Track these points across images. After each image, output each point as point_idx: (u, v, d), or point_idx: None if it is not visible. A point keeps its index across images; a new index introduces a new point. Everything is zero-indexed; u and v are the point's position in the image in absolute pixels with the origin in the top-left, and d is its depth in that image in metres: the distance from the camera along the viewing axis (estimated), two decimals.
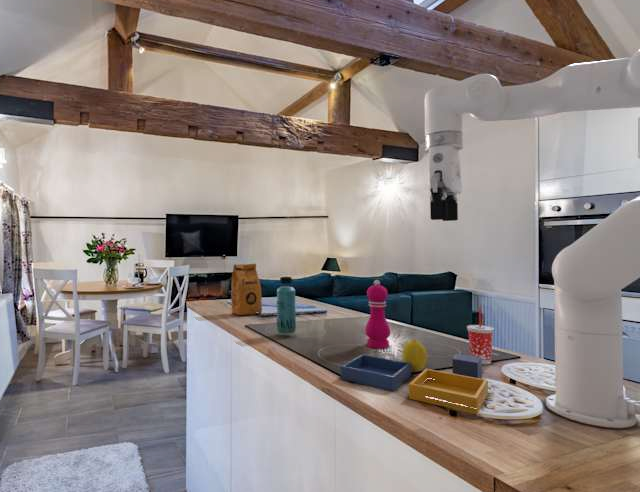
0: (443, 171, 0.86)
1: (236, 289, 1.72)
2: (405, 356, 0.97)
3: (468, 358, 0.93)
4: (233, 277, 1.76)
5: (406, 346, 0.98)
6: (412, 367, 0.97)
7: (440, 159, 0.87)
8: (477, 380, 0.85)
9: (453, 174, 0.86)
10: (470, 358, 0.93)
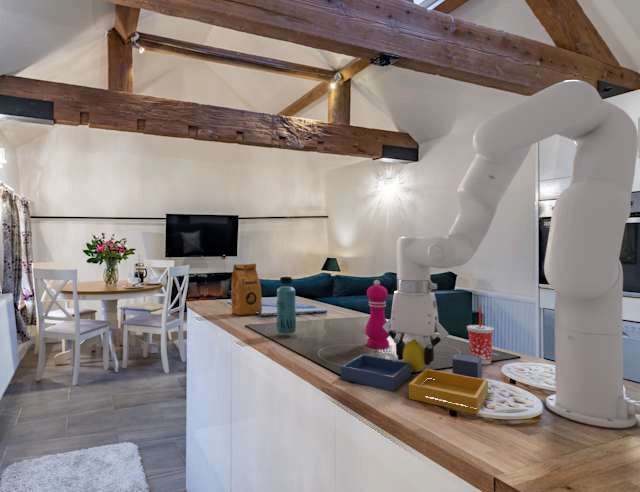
0: (437, 317, 0.96)
1: (236, 289, 1.72)
2: (405, 356, 0.97)
3: (468, 358, 0.93)
4: (233, 277, 1.76)
5: (406, 346, 0.98)
6: (412, 367, 0.97)
7: None
8: (477, 380, 0.85)
9: None
10: (470, 358, 0.93)
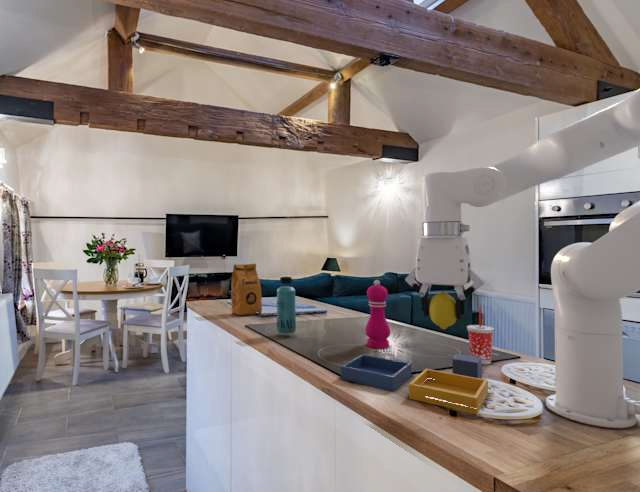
0: (470, 264, 0.83)
1: (236, 289, 1.72)
2: (433, 310, 0.84)
3: (468, 358, 0.93)
4: (233, 277, 1.76)
5: (433, 299, 0.85)
6: (441, 322, 0.84)
7: None
8: (477, 380, 0.85)
9: None
10: (470, 358, 0.93)
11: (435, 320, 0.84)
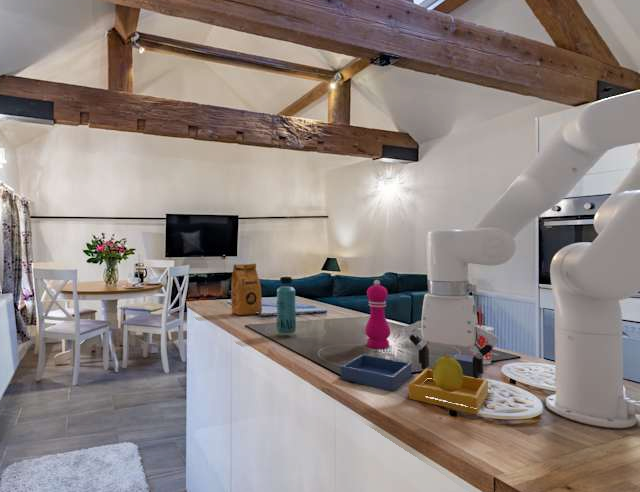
0: (477, 324, 0.81)
1: (236, 289, 1.72)
2: (437, 375, 0.83)
3: (468, 358, 0.93)
4: (233, 277, 1.76)
5: (438, 363, 0.83)
6: (446, 388, 0.82)
7: None
8: (477, 380, 0.85)
9: None
10: (470, 358, 0.93)
11: (440, 385, 0.83)
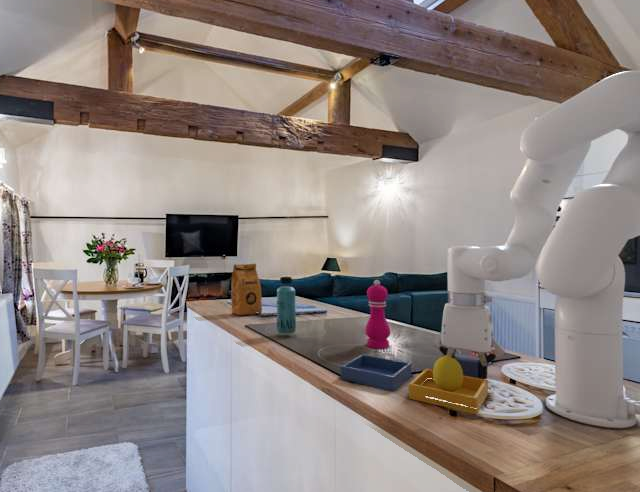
0: None
1: (236, 289, 1.72)
2: (437, 375, 0.83)
3: (468, 358, 0.93)
4: (233, 277, 1.76)
5: (438, 363, 0.83)
6: (446, 388, 0.82)
7: None
8: (477, 380, 0.85)
9: None
10: (470, 358, 0.93)
11: (440, 385, 0.83)
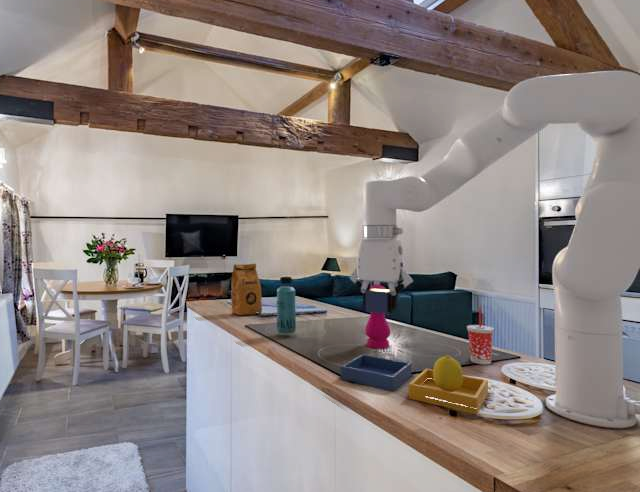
0: (403, 263, 0.93)
1: (236, 289, 1.72)
2: (437, 375, 0.83)
3: (381, 290, 0.95)
4: (233, 277, 1.76)
5: (438, 363, 0.83)
6: (446, 388, 0.82)
7: None
8: (477, 380, 0.85)
9: None
10: (383, 290, 0.95)
11: (440, 385, 0.83)
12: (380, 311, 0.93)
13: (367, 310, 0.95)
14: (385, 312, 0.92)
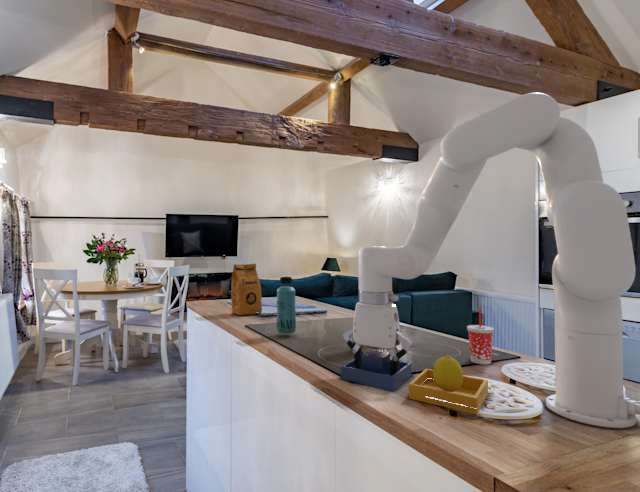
0: (399, 329, 0.93)
1: (236, 289, 1.72)
2: (437, 375, 0.83)
3: (376, 354, 0.95)
4: (233, 277, 1.76)
5: (438, 363, 0.83)
6: (446, 388, 0.82)
7: None
8: (477, 380, 0.85)
9: None
10: (378, 354, 0.95)
11: (440, 385, 0.83)
12: None
13: None
14: None
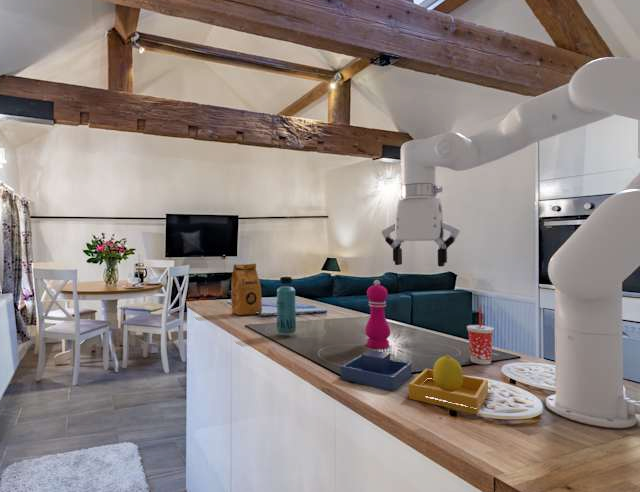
0: None
1: (236, 289, 1.72)
2: (437, 375, 0.83)
3: (376, 354, 0.95)
4: (233, 277, 1.76)
5: (438, 363, 0.83)
6: (446, 388, 0.82)
7: None
8: (477, 380, 0.85)
9: None
10: (378, 354, 0.95)
11: (440, 385, 0.83)
12: None
13: None
14: None
